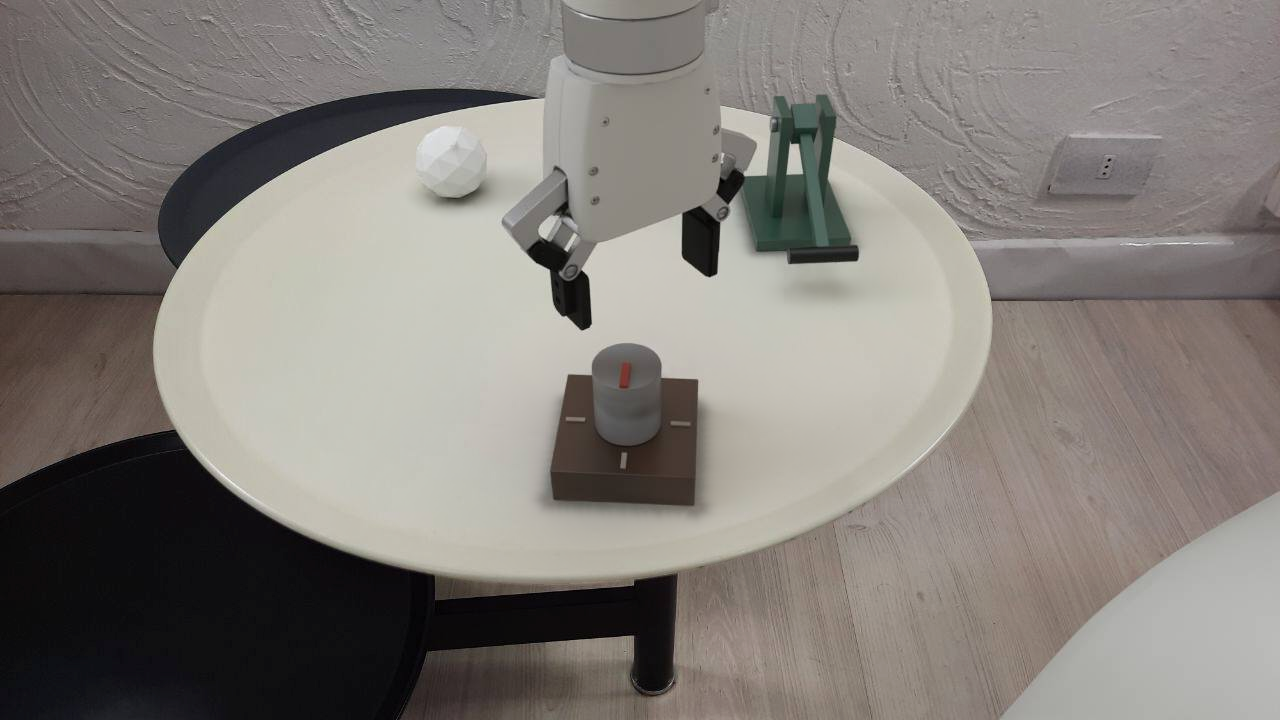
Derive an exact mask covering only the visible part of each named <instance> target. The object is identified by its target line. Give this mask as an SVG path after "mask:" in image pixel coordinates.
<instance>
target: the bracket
mask: <svg viewBox="0 0 1280 720" xmlns="http://www.w3.org/2000/svg"><path fill="white" fill-rule="evenodd" d="M772 102H773V103H772V113H771V116H770V118H769V125H768V127H769V132H770V133H769V134H770V135H769V145H768V155H767V167H766V174H764V175H763V174H762V175H744V176H745V181H744V184H743V185H742V187H741V188H740V190H739V191H740V194H741V198H742V201H743V204H744V205H743V206H744V209H745V213H746V217H747V220H748V224H749V228H750V232H751V236H752V239H753V244H754V247H755V251H756V252H768V251H787V250H788V248H790V247H814V243H813V237H812V230H811V223H810V217H809V210H808V203H807V197H806V190H805V183H804V177H803V173H797V174H796V173H794V174H790V173H789V174H788V165H789V155H790V148H791V147H790V146H791V142H790V138H791V129H792V120H793V117H792V114H791V112H790V107H789V105H788V102H787V99H786V97H785V95H774V96H773V99H772ZM814 103H815V108H816V114H817V120H818V127H819V128H818V131H817V134H816V138H815V141H814V143H813V146H814V153H815V159H816V165H817V172H818V178H819V184H820V191H821V197H822V203H823V210H824V216H825V222H826V229H827V235H828V241H829V246H841V245H851V243H852V235H851V232H850V231H849V228H848V226H847V223H846V220H845V218H844V215H843V213H842V211H841V208H840V205H839V203H838V200H837V198H836V196H835V193H834V191H833V188H832V187H831V183H830V181H829V173H830V167H831V160H832V159H831V158H832V152H833V146H834V139H835V132H836V129H837V119H838V115H837V113H836V111H835V109H834V107H833V105H832V103H831V101H830V99H829V96H828V95H827V94H816V95H815V102H814Z"/></svg>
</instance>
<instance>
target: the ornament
mask: <svg viewBox="0 0 1280 720" xmlns="http://www.w3.org/2000/svg"><path fill="white" fill-rule="evenodd" d="M415 150H416V153H415V154H416V155H415V156H416V157H415V160H416V161H415V171H416V173H417V174H418V176H419V177H420V179H421V181H422V182H423V184H424V186H425V187H427V188H428V189H430V190H431V191H432V192H433V193H435V194H436V195H437V196H438V197H440V198H456V199H461V198H463V197H464V196H466V195H469V194H470V193H472V192H474V191H476V190H477V189H478V188H479V187H480V185H481V184H482V182H483V181H484V179H485V178H486V177H487V173H488V172H487V170H488V168H487V167H488V164H487V163H488V159H487V157H488V154H487V152H486V151H485V148H484V146H483V145H482V143H481V140H480V138H479V137H477V136H475V134H473V133H472V132H470V131H469V130H468V129H466V128H465V127H464V126H451V125H442V126H440V127H438V128H436V129H434V130H432V131H430V132H429V133H427V134H425V135H424V137H423V138H422V140H421V141H420V143H419V144H418V147H417V148H416V149H415Z"/></svg>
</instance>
